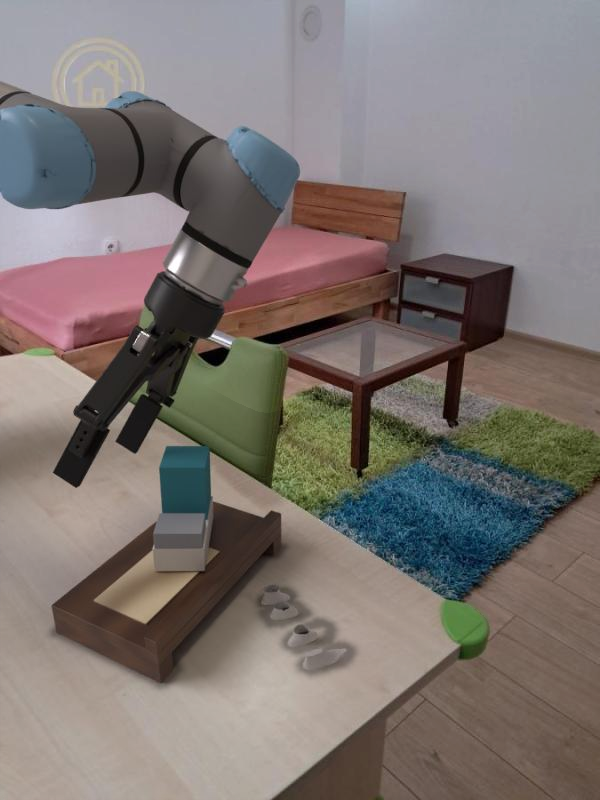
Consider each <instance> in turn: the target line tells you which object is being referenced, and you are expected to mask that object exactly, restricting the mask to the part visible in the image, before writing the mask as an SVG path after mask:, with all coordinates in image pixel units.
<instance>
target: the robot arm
mask: <svg viewBox="0 0 600 800" xmlns="http://www.w3.org/2000/svg"><path fill="white" fill-rule="evenodd" d="M300 176H301V167H300V164H299V162H298V161H297V160H296V158H295V157H294V156H293V155H292V154H290V153H289V152H288V151H286V149H284V148H283V147H281V146H280V145H278V143H277V144H276V142H274V141H272V140H270V138H268V137H266V136H264V135H263V134H261V133H259V132H257V131H255V130H254V129H251V128H249V127H248V126H245V125H239V126H237V127H235V128H233V130H232V131H231V133H230V135H229V136H227V138H226V139H224V138H221V137H220V138H219V137H218V136H216V135H214V134H212V133H211V132H209V131H208V130H206V129H204V128H203V127H201V126H200V125H198V124H196V123H194V122H193V121H191V120H190V119H188V118H186V117H185V116H183V115H181V114H180V113H178V112H176V111H175V110H174V109H172V108H171V106H168V105H167V104H166V103H165V102H163V101H161V100H159V99H154V98H152V97H149V96H148V95H145V94H144V93H141V92H138V91H134V90H129V91H124V92H121V93H120V95H119V96H118V97H116V98H112V99H110V100H109V102H108V103H107V104H106V105H105V106H104V107H77V106H76V107H75V106H69V105H66V104H62V103H59V102H57V101H53V100H51V99H48V98H46V97H42V96H40V95H37V94H35V93H34V94H33V93H32V92H30V91H28V90H25V89H22V88H20V87H18V86H15V85H12V84H9V83H7V82H4V81H3V80H0V194H1V197H2V198H3V199H4V200H5V201H6V202H8V203H10V204H11V205H13V206H15V207H17V208H21V209H24V210H40V209H48V210H63V209H67V208H70V207H73V206H78V205H82V204H87V203H93V202H101V201H107V200H113V199H118V198H119V199H120V198H126V197H127V198H128V197H133V196H139V195H148V194H153V193H155V194H157V195H161V196H162V197H164V198H165V199H167V200H169V201H170V202H172V203H174V204H175V205H177V206H178V207H179V208H182V209H183V210H185V211H186V212H188V213H187V217H186V219H185V221H184V222H183V224H182V227H181V228H180V229H179V231H178V233H177V235H176V236H175V239H174V241H173V242H172V244H171V246H170V248H169V250H168V252H167V254H166V255H165V257H164V259H163V261H162V266H163V268H164V269H165V271H164V270H163V271H160V272H157V273H156V276H155V277H154V279H153V281H152V282H151V285H150V286H149V288H148V290H147V292H146V294H145V296H144V299H143V304H144V307H145V308H146V309H147V310H148V311H149V312H151V314H152V315H153V321H151V322H150V324H149V326H148V327H145V328H143V327H141V326H139V325H138V324H137V325H135V326H134V327H133V328H132V329H131V330H130V333H129V334H128V337H126V339H125V342H124V343H123V344H122V346H121V347H120V349H119V350H118V352H117V353H116V354H115V356H114V357H113V358H112V360H111V361H110V362H109V364H108V365H107V366H106V368H105V369H104V370H103V371H102V373H101V374H100V376H99V377H98V378H97V380H96V381H95V382H94V383H93V385H92V386H91V388H90V389H89V390H88V391H87V393H86V395H85V396H84V397H83V398H82V400H81V401H80V402H79V404H76V405H75V407H74V408H73V411H72V414H73V416H74V417H75V418H77V419H78V420H79V422H78V424H77V426H76V428H75V430H74V431H73V433H72V435H71V437H70V440H69V441H68V443H67V444H66V446H65V448H64V450H63V452H62V454H61V456H60V458H59V460H58V462H57V463H56V465H55V467H54V468H53V471H52V474H54V475H56V476H57V477H58V478H60V479H61V480H63V481H64V482H66V483H67V484H69V485H70V486H71V487H74V488H75V489H77V488H79V487H80V486H82V483H83V481H84V479H85V478H86V476H87V474H88V472H89V470H90V469H91V466H92V465H93V463H94V461H95V459H96V457H97V456H98V454H99V452H100V450H101V448H102V447H103V445H104V442H106V439H107V437H108V435H109V433H110V432H111V429H110V428H109V426H110V425H111V424H112V423H113V421H114V420H115V419H116V418H117V417H118V415H119V414H121V412H122V411H123V410H124V408H125V407H126V406H127V405H128V404H129V402H131V400H132V399H133V397H134V396H135V395H136V394H137V393H138V391H139V390H140V389H141V388H142V387H143V386H144V384H145V383H146V382H147V384H146V391H145V393H142V394H140V395H139V398H138V399H137V401H136V403H135V405H134V407H133V408H132V410H131V412H130V413H129V415H128V418H127V419H126V421H125V423H124V425H123V426H122V428H121V430H120V432H119V433H118V436H117V437H116V439H115V441H114V442H115V443H116V444H118V445H120V446H121V447H123V448H124V449H125V450H128V451H129V452H131V453H132V454H133V455H135V454H137V453H139V450H140V449H141V446H142V445H143V443H144V441H145V440H146V438H147V436H148V434H149V432H150V431H151V429H152V427H153V425H154V423H155V422H156V419H157V418H158V416H159V415H160V413H161V411H162V409H163V407H164V406H165V407H167V408H168V409H169V408H171V407H172V406H173V404H174V403H175V400H176V399H174V398H173V397H174V396H176V394H177V391H178V389H179V386H180V384H181V382H182V378H183V377H184V374H185V371H186V369H187V366H188V364H189V361H190V358H191V355H192V353H193V351H194V348H195V347H196V344H197V342H198V340H199V339H202V340H206V339H209V338H211V337H212V336H213V334H214V332H215V331H216V329H217V327H218V325H219V324H220V322H221V320H222V318H223V316H224V315H225V313H226V310H225V309H226V307H225V305H224V304H223V303H229V302H231V301H232V299H233V298H234V296H235V294H236V293H237V291H238V289H239V288H241V289H244V288H246V286H247V285H248V280H247V279H246V278H245V275H247V273H248V271H249V269H250V268H251V266H252V265H253V262H254V260H255V258H256V256H257V255H258V253H259V251H260V250H261V248H263V245H264V244H265V242H266V240H267V238H268V237H269V235H270V233H271V231H272V229H273V228H274V226H275V225H276V223H277V221H278V220H279V218H280V217H281V214H283V213H284V211H285V210H286V205H287V203H288V201H289V199H290V197H291V195H292V193H293V191H294V189H295V187H296V184H297V182H298V180H299V178H300ZM146 394H147V395H146ZM161 404H162V405H161ZM163 405H164V406H163Z"/></svg>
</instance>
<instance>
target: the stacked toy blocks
mask: <svg viewBox="0 0 600 800" xmlns="http://www.w3.org/2000/svg"><path fill="white" fill-rule="evenodd" d="M210 447H211V446H210V445H165V450H164V452H163V455H162V458H161V461H160V463H159V466H158V471H159V472H158V473H159V484H160V485H159V487H160V503H161V504H160V505H161V512H160V513H158V515H157V520H156V521H157V523H156V526H155V530H154V533H153V536H154V546H153V562H154V571H205V568H206V561H207V555H208V548H209V542H210V535H211V528H212V522H213V501H214V496H213V495H212V479H211V478H212V477H211V448H210Z"/></svg>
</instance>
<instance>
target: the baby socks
mask: <svg viewBox="0 0 600 800" xmlns="http://www.w3.org/2000/svg"><path fill="white" fill-rule="evenodd" d="M290 600H291V595H290V594H287V593H284V592H281V590H280V587H279V585H278V584H273V583H272V584H269V585H267V586H264V588H263V597H262V599H261V601H260V603H261V605H264V606H273V609H272V612H271V613H270V615H269V618H270V619H271V620H273V621H284V620H289V619H292V618H295V617H296V616H298V615H299V611H298V609H297V608H295V607H292V606H291V604H290V603H289V602H288V601H290ZM317 637H318V632H317V631H316V630H310V627H309V626H308V625H306V624H302V623H301V624H297V625H296V626H295V627H294V628H293V632H292V635H291V636H290V637H289V639H288V640H287V642H286V643H287V646H288V647H290V648H297V647H301V646H306V645H308V644H310V643H312V642H314V641H315V640H316V639H317ZM346 652H348V651H347V648H345V647H343V648H333V649H328V650H325V649H323V648H315V649H313V650H310V651H307V652H306V653H305V655H304V660H303V663H302V668H303V669H304V670H305V671H314V670H318V669H321V668H323V667H327V666H330V665H333V664H334V663H337V662H338V660H339V659H340V658H341V654H344V653H346Z"/></svg>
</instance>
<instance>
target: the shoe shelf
mask: <svg viewBox="0 0 600 800" xmlns="http://www.w3.org/2000/svg"><path fill="white" fill-rule="evenodd" d="M156 523H157V520H156V521H155V522H154V523H152V524H151V525H150V526H149V527H148V528H146V529H145V530H144V531H143V532H141V533H140V534H138V535H137V536H136V537H135V538H134V539H132V540H131V541H129V543H128V544H126V545H124V546H123V547H122V548H121V549H119V550H118V551H117V552H116V553H115V554H113V555H112V556H111V557H110V558H109V559H107V560H106V561H104V562H103V563H102V564H101V565H100V566H98V567H97V568H96V569H95V570H93V571H92V572H91V573H90V574H88V575H87V576H86V577H85V578H83V579H82V580H81V581H80V582H79V583H77V584H76V585H74V587H72V588H71V589H70V590H68V591H67V592H66V593H65V594H63V595H61V597H60V598H58V599H57V600H55V601H54V603H52V604H51V605H50V606H51V612H52V618H53V622H54V627H55V631H56V633H57V634H59V635H61V636H63V637H65V638H67V639H69V640H71V641H73V642H75V643H77V644H79V645H81V646H83V647H85V648H87V649H89V650H92V651H94V652H96V653H97V654H99V655H101V656H104V657H106V658H108V659H110V660H112V661H114V662H116V663H118V664H119V665H122V666H124V667H126V668H129V669H130V670H132V671H135V672H136V673H138V674H141V675H142V676H145V677H146V678H148V679H151V680H152V681H155V682H157V683H159V684H162V683H163V682H164V681H165V679H167V677H168V676H169V675H170V674H171V673H172V672H173V671H174V661H173V659H174V658H173V652H174V651H175V650H176V649H177V647H179V645H180V644H181V643H182V642H183V641H184V640H185V639H186V638H187V637H188V636H189V634H191V632H192V631H193V630H194V629H195V628H196V627H197V626H198V625H199V623H200V622H202V620H203V619H204V618H205V617H206V616H207V615H208V614H209V613H210V612H211V610H212V609H214V607H215V606H216V605H217V604H218V603H219V602H220V601H221V599H222V598H224V597H225V595H226V594H227V593H228V592H229V591H230V590H231V588H232V587H234V585H235V584H236V583H237V582H238V581H239V580H240V579H241V578H242V577H243V576H244V574H245V573H246V572H247V571H248V570H249V569H250V568H251V567H252V566H253V565H254V564H255V563H256V561H257V560H258V559H259V558H261V556H262V555H263V554H267V555H269V556H272V557H274V556H275V555H276V554H277V553H278V552H280V550H281V548H282V513H281V512H278V511H275V510H270V511H268V513H267V514H265V516H264V517H263V516H260V515H257V514H253V513H250V512H247V511H246V510H245V511H244V510H241V509H239V508H235V507H232V506H229V505H227V504H223V503H220V502H217V501H214V500H213V522H212V528H211V535H210V542H209V548H208V555H207V561H206V568H205V571H154V562H153V546H154V536H153V533H154V530H155V526H156Z"/></svg>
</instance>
